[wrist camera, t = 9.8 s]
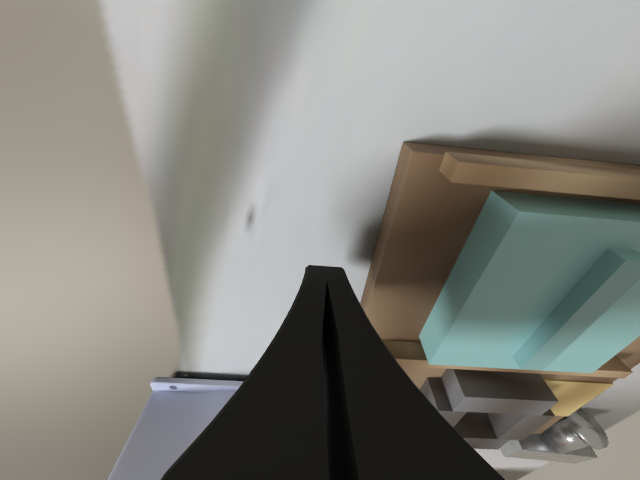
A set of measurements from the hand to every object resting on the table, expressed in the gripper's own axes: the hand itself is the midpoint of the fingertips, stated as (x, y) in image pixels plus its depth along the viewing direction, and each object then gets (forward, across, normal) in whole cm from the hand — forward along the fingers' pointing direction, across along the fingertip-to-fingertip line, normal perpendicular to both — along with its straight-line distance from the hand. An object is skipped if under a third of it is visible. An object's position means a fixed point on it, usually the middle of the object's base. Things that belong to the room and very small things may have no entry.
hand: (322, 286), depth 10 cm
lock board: (+2, -10, +5) cm, 12 cm away
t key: (+1, -21, +14) cm, 25 cm away
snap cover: (+1, -9, 0) cm, 9 cm away
